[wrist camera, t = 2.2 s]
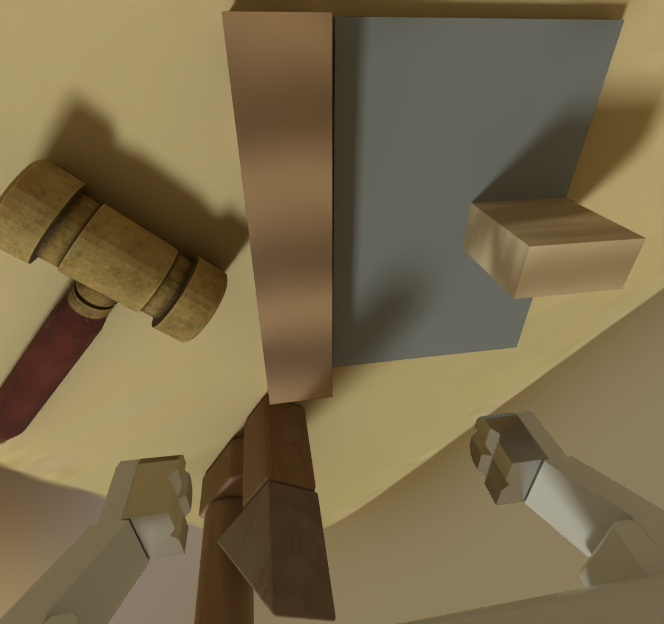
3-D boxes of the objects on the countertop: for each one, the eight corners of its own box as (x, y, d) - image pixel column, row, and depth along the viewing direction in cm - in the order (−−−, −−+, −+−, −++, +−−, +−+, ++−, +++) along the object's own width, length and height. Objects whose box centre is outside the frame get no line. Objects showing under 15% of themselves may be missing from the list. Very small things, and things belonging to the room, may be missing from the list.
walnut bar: (226, 16, 18) (221, 11, 14) (317, 16, 18) (332, 12, 15) (267, 363, 29) (269, 404, 26) (323, 357, 29) (332, 396, 26)
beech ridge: (471, 202, 23) (529, 246, 18) (565, 197, 24) (645, 238, 19) (462, 247, 25) (513, 298, 20) (551, 241, 26) (621, 289, 21)
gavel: (50, 497, 28) (-132, 449, 23) (75, 441, 32) (-78, 390, 27) (225, 306, 20) (6, 176, 16) (233, 261, 24) (56, 144, 19)
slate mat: (332, 17, 18) (335, 16, 17) (611, 20, 20) (624, 19, 19) (331, 359, 29) (332, 366, 29) (510, 340, 31) (516, 347, 31)
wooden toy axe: (306, 407, 32) (354, 728, 17) (240, 485, 36) (233, 799, 21) (264, 392, 30) (277, 732, 15) (200, 476, 34) (163, 808, 19)
